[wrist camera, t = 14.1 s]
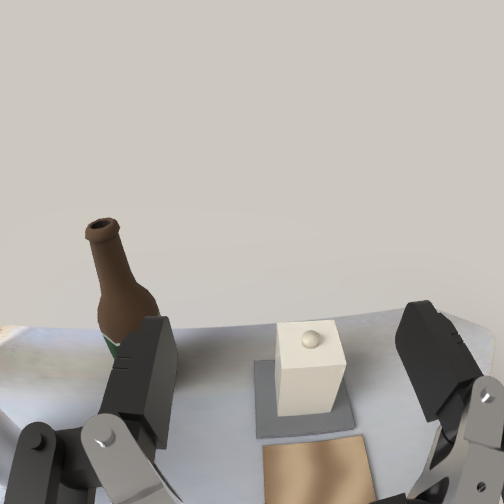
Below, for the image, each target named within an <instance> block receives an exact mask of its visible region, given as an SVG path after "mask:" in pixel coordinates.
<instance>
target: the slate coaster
mask: <svg viewBox="0 0 504 504" xmlns="http://www.w3.org/2000/svg"><path fill="white" fill-rule="evenodd" d="M254 375H255V408H256V438H279V437H293V436H305V435H315V434H323V433H331V432H339V431H346V430H352V429H354V428H355V424H354V420H353V416H352V412H351V407H350V403H349V399H348V395H347V391H346V387H345V383H344V379H343V377H342V380H341V383H340V386H339V389H338V392H337V395H336V398H335V401H334V403H333V406H332V409H331V412H328V413H318V414H308V415H295V416H279V417H278V414H277V400H276V387H275V360H262V361H254Z"/></svg>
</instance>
